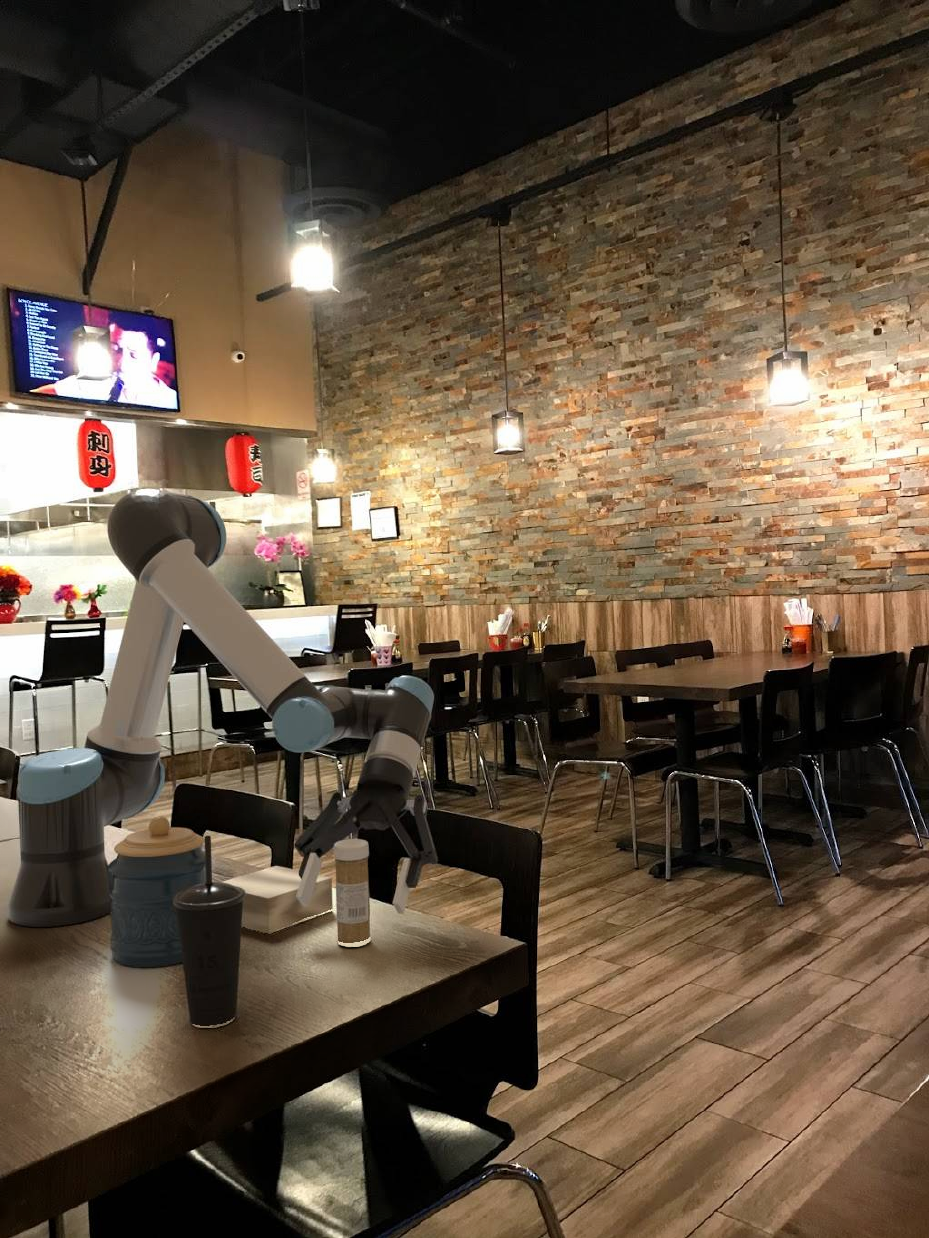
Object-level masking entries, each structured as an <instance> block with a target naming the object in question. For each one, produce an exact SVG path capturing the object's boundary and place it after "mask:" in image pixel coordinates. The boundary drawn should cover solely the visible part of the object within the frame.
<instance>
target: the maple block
mask: <svg viewBox="0 0 929 1238" xmlns="http://www.w3.org/2000/svg"><path fill="white" fill-rule="evenodd" d="M301 880H302V879H301V878H300V876H299V870H298V869H293V868H290V867H289V868H288V867H285V866H279V865H274V866H270V867H268V868H265V869H263V868H262V869H261V870H258V871H254V872H251V873H247V874H243V875H241V876H237V877H234V878H230V879H227V880H224V881H222V882H224V883H228V884H231V885H233V886H237V887H240V888H242V889H244V890H245V894H246V896H245V898H244V900H243V908H242V925H241V928H243V927H245V928H244V929H246V928H247V930H250V929H251V930H250V931H253V930H256V931H255V932H257V931H260V932H259V933H261V932H264V933H268V934H270V933H273V932H274V931H276V930H278V929H281V928H283V927H287V926H290V925H292V924H293V923H295V922H298V921H300V920H302V919H304V918H307V917H311V916H314V915H318V914H321V913H323V912H326V911H328V910H331V909H333V908H334V907H333V906H334V905H333V878H332V877H331V876H327V875H322V874H319V875H318V878H317V881H316V884H315V887H314V890H313V893H312V896H311V899H310V903H309V906H308V907H304V906H302V904H301V903H300V901H299V900H298V899H297V897H296V895H297V892H298V889H299V886H300V883H301ZM264 933H263V934H264ZM268 934H267V935H268ZM273 934H274V933H273Z"/></svg>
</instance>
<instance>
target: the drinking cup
mask: <svg viewBox="0 0 929 1238" xmlns="http://www.w3.org/2000/svg"><path fill="white" fill-rule="evenodd" d="M203 838H204V840H205V842H204V851H205V874H206V882H204V883H200V884H196V885H194V886H191V887H189V888H187V889H186V890H184V891H182V892H180V893H178V894H176V895H175V896H174V897H173V905H174V906H175V907H176V913H177V921H178V928H179V936H180V944H181V952H182V960H183V962H182V967H183V975H184V984H185V991H186V998H187V1006H188V1014H189V1016H188V1017H189V1023H190V1022H191V1023H192V1024H195V1025H200V1026H210V1025H217V1024H223V1023H226V1022H227V1021H230V1020H231V1019H233V1018H234V1017H235V1015H236V1016H237V1009H238V1008H237V1007H238V1006H237V1005H238V991H239V989H238V988H239V973H240V971H239V970H240V956H241V955H240V954H241V941H242V939H241V937H242V927H241V925H242V908H243V900H244V898H245V896H246V894H245V890H244V889H242V888H240V887H237V886H233V885H231V884H228V883H224V882H223V881H213V867H212V866H213V865H212V859H213V858H212V859H211V857H212V836H211V835H204V837H203ZM191 1023H190V1024H191Z"/></svg>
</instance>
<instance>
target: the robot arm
mask: <svg viewBox="0 0 929 1238" xmlns="http://www.w3.org/2000/svg"><path fill="white" fill-rule="evenodd" d="M107 537H108V540H109V544H110V546H111V548H112V551H113V552H114V554H115V556H116V557H117V558H118V560H119V562H121V564H122V565H123V566H124V567H125V569H126V570H127V571H128V572H129V573H130V574H131V576H132V577H133V578H134V580H135V585H134V590H133V593H132V596H131V597H132V598H131V601H130V605H129V609H128V613H127V618H126V621H125V624H124V625H125V626H124V628H123V629H124V630H123V634H122V636H121V637H122V638H121V639H120V640H121V641H120V645H119V648H118V652H117V653H118V654H117V657H116V661H115V666H114V669H113V673H112V677H111V681H110V684H109V687H108V692H107V696H106V701H105V704H104V708H103V712H102V716H101V720H100V724H98V725H97V726H95V727H94V728H92V729H89V731H88V732H87V734H86V735H87V736H86V739H85V742H84V747H83V748H82V747H77V748H65V749H58V750H56V751H49V752H45V753H42V754H41V753H40V754H39V755H35V756H34V757H31V758H28V759H27V760H26V761H25V762H24V763H22V764H21V766H20V768H19V770H18V777H17V778H18V780H17V787H16V797H17V799H18V821H19V823H18V824H19V825H18V826H19V849H20V850H19V851H20V854H19V855H20V867H19V870H18V873H17V876H16V880H15V882H14V886H13V888H12V892H11V895H10V899H9V902H8V903H9V904H8V913H9V914H8V918H9V921H10V922H12V923H13V924H15V925H18V926H22V927H23V926H24V927H32V928H33V927H34V928H36V927H37V928H40V927H41V928H45V927H46V928H47V927H60V926H68V925H73V924H79V923H83V922H87V921H91V920H94V919H98V918H101V917H103V916H106V915H108V914H111V906H110V897H109V890H110V889H111V888H112V882H113V875H112V874H111V873H110V872H109V871H108V865H109V863H108V860H107V857H106V853H105V851H106V850H105V847H106V846H105V827H107V826H110V825H112V824H115V823H117V822H120V821H123V820H127V819H131V818H133V817H135V816H137V815H139V814H141V813H142V812H143V811H145V810H146V809H148V808H149V807H151V806H152V805H153V804H154V803H155V802H156V801H157V799H158V798H159V796H160V794H161V793H162V791H163V787H164V784H165V774H166V773H165V767H164V765H163V764H162V762H161V760H162V759H161V757H160V754H161V750H162V744H161V743H160V741H159V739H158V738H157V737H156V732H157V726H158V724H159V719H160V715H161V712H162V708H163V703H164V700H165V695H166V692H167V688H168V684H169V680H170V675H171V672H172V667H173V665H174V660H175V658H176V653H177V649H178V644H179V641H180V637H181V634H182V630H183V626H184V623H185V625H187V626H188V628H189V629H190V630H192V632H193V633H194V635H195V636H197V638H198V639H199V640H200V641H201V642H202V643H203V644H204V645H205V646H206V647H207V649H208V650H209V651H210V652H211V653H212V654H213V655H214V657H215V658H216V659H217V660H218V661H219V663H221V664H222V666H224V667H225V668H226V669H227V670H228V672H229V673H230V674H231V675H232V677H234V678H235V679H236V681H237V682H238V683H239V684H240V685H241V687H243V688H244V689H245V691H246V692H247V693H248V694H249V695H250V696H251V698H253V700H254V701H255V702H256V703H257V704H258V705H259V706H260V707H261V708H262V710H263V711H264V713H266V714H267V715H268V716H269V717H270V718H271V720H272V722H271V723H272V724H271V725H272V726H271V727H272V731H273V734H274V737H275V738H274V739H276V742H277V743H279V745H280V746H281V747H282V748H284V749H285V750H288V751H289V752H293V753H306V752H315V751H317V750H320V749H322V748H324V747H325V746H327V745H328V744H331V743H335V742H336V741H339V740H341V739H343V738H344V739H345V738H352V739H368V740H370V743H369V746H368V750H367V752H366V755H365V758H364V764H363V765H362V769H361V770H360V773H359V777H358V780H357V784H356V785H357V786H356V791H355V792H354V794H353V795H351V797H348V796H342V794H341V792H337V791H335V792H334V793H333V794H332V795H331V798H330V801H329V803H328V804H327V806H325V808H324V809H323V810H322V811H321V812H320V813H319V815H318V816H317V817H316V818H315V819H314V821H313V822H311V823H310V824H309V826H308V827H307V828H306V829H305V830H304V832H303V833H302V834H301V835H300V836H299V837H298V838H297V840H296V841H294V844H293V845H294V848H295V850H296V851H297V853H298V854H299V856H300V857H302V862H301V863H300V867H299V876H300V878H301V879H302V880H301V883H300V886H299V889H298V892H297V895H296V897H297V899H298V900H299V901H300V903H301V904H302V906H304V907H308V906H309V903H310V899H311V896H312V893H313V890H314V887H315V884H316V881H317V878H318V875H320V873H321V872H320V871H321V868H322V866H323V863H322V860H321V858H322V857H324V856H325V855H326V854H327V853H329V852H330V851H331V850H332V849H334V844H335V843H336V842H338V841H341V840H346V838H347V837H348V836H350V835H351V834H352V833H354V834H355V833H357V832H359V830H362V828H363V829H364V830H374V829H376V830H379V831H386V829H387V828H390V827H391V828H392V830H393V832H394V834H396V837H398V840H399V841H400V842H401V844H402V846H403V848H404V849H405V851H406V853H407V854H408V857H404V858H403V862H402V866H401V869H400V873H399V877H398V881H397V885H396V887H395V893H394V896H393V900H392V905H393V907H394V908H395V911H396V912H397V914H398V915H399V914H402V915H404V914H405V911H406V906H407V902H408V899H409V894H410V890H411V889H416V888H417V887H418V884H419V880H420V878H421V872H422V869H423V867H424V866H426V865H429V864H430V865H436V864H437V863H438V862H439V859H438V855H437V851H436V848H435V844H434V840H433V837H432V834H431V831H430V827H429V823H428V820H427V815H428V805H427V803H426V801H425V799H424V796H423V795H421V794H418V795H416V796H415V797H414V799H409V796H410V793H411V788H412V786H413V782H414V776H415V775H416V771H417V766H418V762H419V758H420V756H421V752H422V747H423V744H424V740H425V737H426V734H427V730H428V728H429V724H430V722H431V719H432V710H433V705H434V701H435V694H434V691H433V690H432V688H431V686H430V685H429V684H428V683H427V682H425V680H423V679H420V678H418V677H415V676H412V675H401V676H399V677H394V678H393V679H392V680H391V681H390V682H389V683H388V686H387V687H386V688H385V689H384V690H383V689H364V688H363V689H362V688H354V687H352V688H351V687H343V686H342V687H340V686H335V685H331V684H329V685H328V684H327V685H314V684H313V682H311V680H310V679H308V677H307V676H306V674H304V673H303V671H302V670H301V669H300V668H299V667H298V666H297V665H296V663H295V662H294V661H292V660H291V658H290V657H289V656H288V655H287V654H286V653H285V651H283V650H282V648H281V647H280V646H279V645H278V644H277V643H276V642H275V641H274V639H273V638H272V637H271V636H270V635H269V634H268V633H267V631H266V630H264V628H262V626H261V625H260V624H259V623H258V622H257V621H256V619H254V617H252V615H251V614H250V613H249V612H248V611H247V610H246V609H245V608H244V607H243V605H242V604H241V603H240V602H239V601H238V600H237V599H236V598H235V597H234V596H233V595H232V594H231V592H230V591H229V590H228V589H227V588H226V587H225V586H224V585H223V584H222V583H221V581H219V579H218V578H217V577H216V576H215V575H214V574H213V573H212V572H211V570H210V569H209V568H210V567H212V566H213V565H214V564H215V563H217V562H218V561H219V560H220V558H221V557H222V555H223V553H224V551H225V548H226V545H227V530H226V526H225V522H224V519H222V517H221V515H220V514H219V512H218V511H217V509H215V508H214V506H212V505H211V504H210V503H208V502H206V501H204V500H202V499H199V498H197V497H194V496H193V495H189V494H188V495H187V494H182V493H181V494H180V493H175V492H168V491H164V490H161V489H156V488H155V489H154V488H140V489H137V490H133V491H131V492H128V493H127V494H125V495H124V496H123V497H121V498H120V499H118V501H117V502H116V503H115V504H114V506H113V507H112V509H111V511H110V513H109V516H108V521H107ZM348 808H349V809H348ZM347 809H348V810H347ZM407 811H410V813H411V815H412V816H414V818H415V822H416V823H415V824H416V826H417V829H418V833H419V837H420V839H421V845H422V848H423V850H421V851H419V849H418V848H417V847H416V845H415V843H414V842H413V840H412V838H411V837H410V835H409V834H408V832H407V830H406V828H405V827H404V825H402V822H401V821H400V818H402V817H403V816H404V815H405V814H406V813H407ZM342 814H343V815H342ZM341 816H342V817H341ZM340 818H341V819H340ZM354 818H355V819H356V820H355V821H354V820H353V819H354ZM409 857H410V858H409Z"/></svg>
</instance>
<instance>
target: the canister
mask: <svg viewBox="0 0 929 1238" xmlns="http://www.w3.org/2000/svg"><path fill="white" fill-rule="evenodd" d="M170 825H171V824H170V821H169V820H168V818H167V817H166V816H155V817H154V818H152V819H151V820H150V822H149V825H148V829H143V830H138V831H135V832H132V833H129V834H128V835H126V836H125V838H124V839H123V840H121V841H120V842H118V843H117V844H115V845H114V848H113V850H114V853H116V854H117V856H116V858H115V859H113V860H112V861H111V862H109V863H108V871H109V872H110V873H111V874H112V875H113V882H112V888H111V889H110V890H109V897H110V906H111V912H110V925H111V926H110V927H111V928H110V929H111V930H110V931H111V932H110V933H111V934H110V938H109V942H110V951H111V952H112V953H111V954H112V959H113V960H114V961H115V962H116V963H117V964H118V963H119V964H120V965H123V966H127V967H134V968H159V967H166V966H172V965H178V964H183V960H182V952H181V944H180V936H179V928H178V921H177V913H176V907H175V906H174V905H173V897H174V896H175V895H176V894H178V893H180V892H182V891H184V890H186V889H187V888H189V887H191V886H194V885H196V884H200V883H204V882H206V874H205V849H203V847H202V846H203V845H205V839H204V837H203V836H201V835H199V834H197V833H195V832H194V831H193V830H192V829H190V828H186V827H179V826H178V827H175V826H174V827H172V826H170ZM211 859H213V857H212V856H211Z"/></svg>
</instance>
